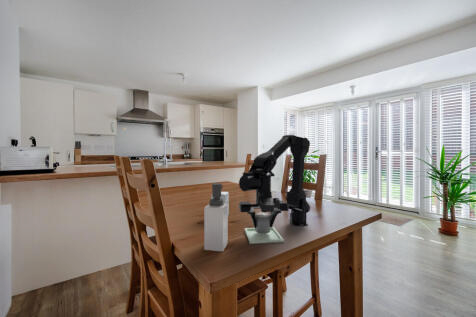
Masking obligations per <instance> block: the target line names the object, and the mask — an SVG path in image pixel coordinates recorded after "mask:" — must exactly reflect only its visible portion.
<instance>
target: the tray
mask: <svg viewBox="0 0 476 317" xmlns="http://www.w3.org/2000/svg"><path fill="white" fill-rule="evenodd" d="M244 233H245V236H246V237H247V239H248V242H249V244H250V245H252V244H256V245H257V244H274V243H285V242H284V240H285V239H284V238H283V237H282V236H281V234H280V233H279V232H278V230H277V228H276V227H275V226H272V228H271V227H270V232H269V233H266V234H261V233H257V232H255V228H254V227H244Z"/></svg>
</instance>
